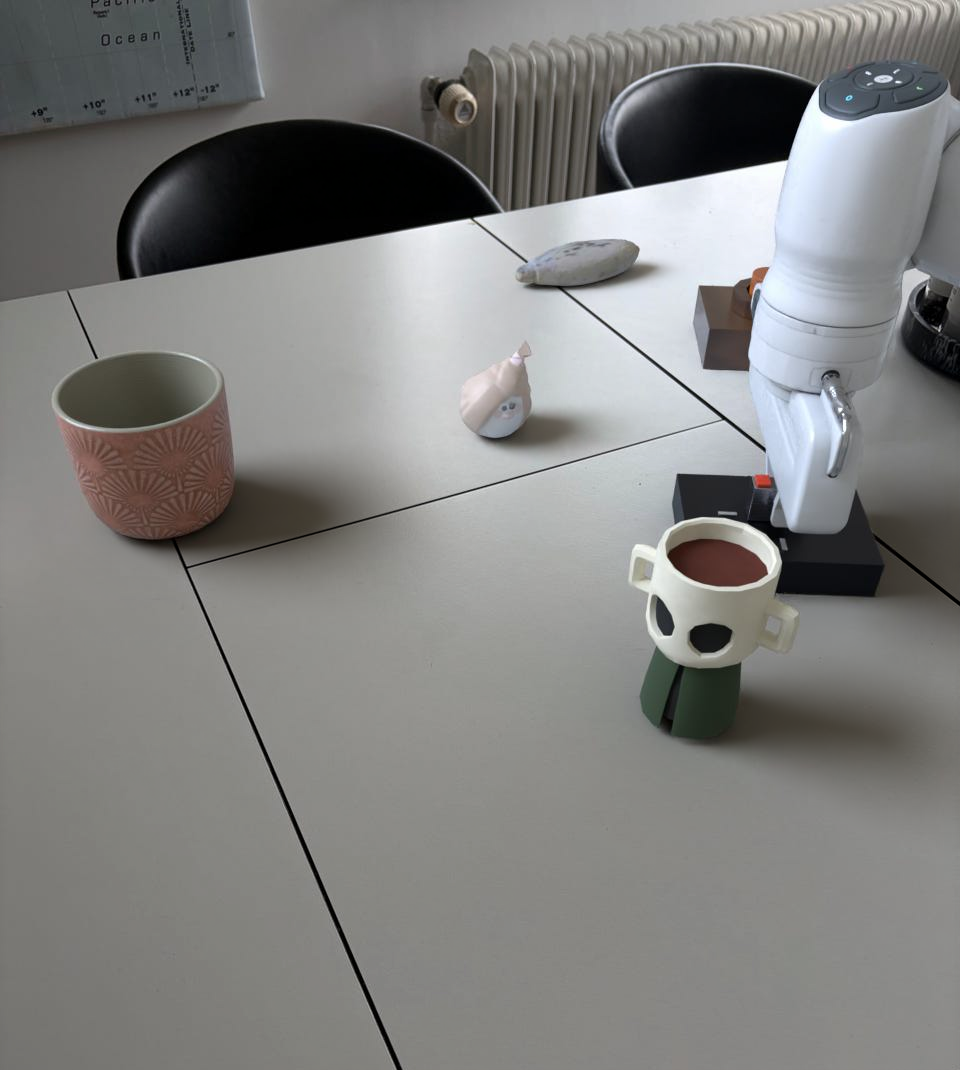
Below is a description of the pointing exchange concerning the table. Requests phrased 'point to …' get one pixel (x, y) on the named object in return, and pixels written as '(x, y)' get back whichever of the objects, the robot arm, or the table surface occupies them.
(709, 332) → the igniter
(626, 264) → the decorative stone
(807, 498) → the robot arm
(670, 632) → the character mug
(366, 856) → the table surface
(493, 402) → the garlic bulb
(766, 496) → the knob
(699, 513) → the panel
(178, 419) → the planter
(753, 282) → the button
